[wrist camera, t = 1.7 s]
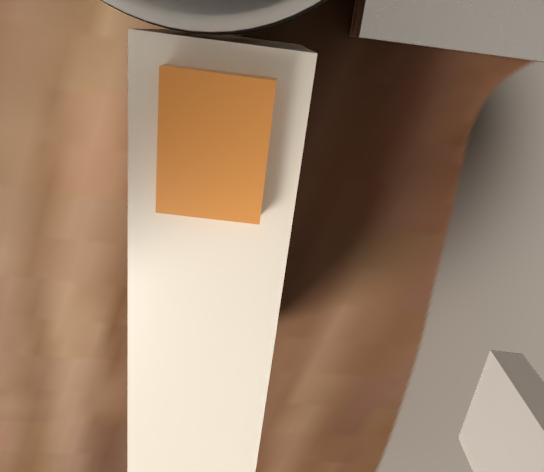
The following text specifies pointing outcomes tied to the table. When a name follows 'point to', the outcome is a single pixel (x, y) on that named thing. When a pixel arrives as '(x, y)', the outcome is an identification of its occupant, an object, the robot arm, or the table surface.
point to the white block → (208, 239)
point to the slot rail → (456, 25)
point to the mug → (215, 14)
